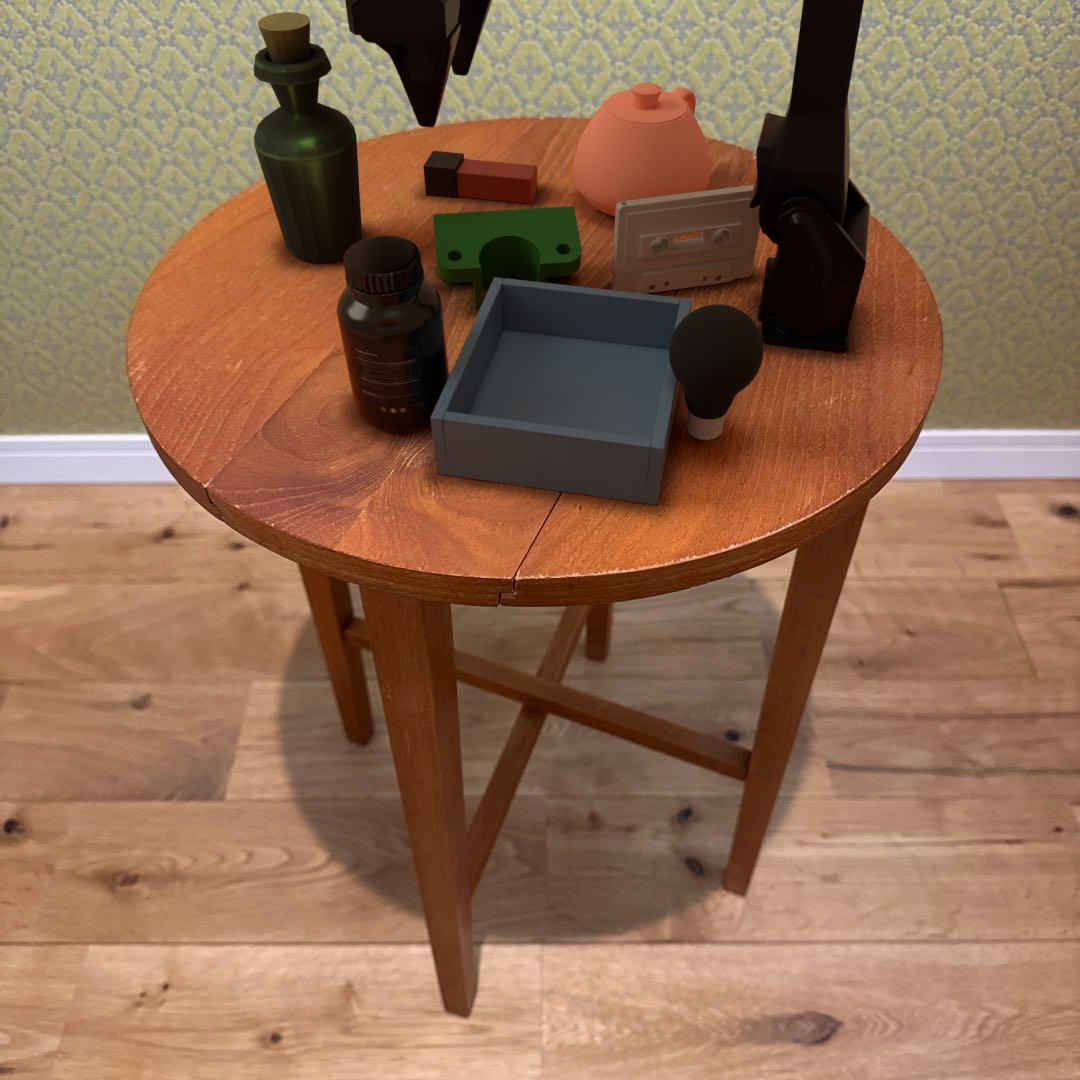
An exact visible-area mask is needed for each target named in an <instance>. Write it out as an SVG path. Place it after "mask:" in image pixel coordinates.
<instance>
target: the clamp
mask: <svg viewBox="0 0 1080 1080" xmlns="http://www.w3.org/2000/svg"><path fill="white" fill-rule="evenodd" d="M575 208H576V207H575V205H570V206H554V207H553V206H551V207H538V208H537V207H535V208H516V209H501V210H499V209H498V210H482V211H465V212H448V213H433V214H432V220H433V235H434V247H435V261H436V271H437V275H438V277H439V279H440V280H441V281H442V282H444V283H446V284H449V285H467V284H473V295H474V302H475V303H474V304H475V311H479V310H480V308H481V305H482V303H483V301H484V298H483V294H484V291H485V290H486V289H487V288H488V287H490V286H491V283H492V281H493V279H494V277H497V278H504V279H505V278H507V279H516V280H525V281H534V282H543V283H548V279H558V278H560V279H561V278H564V277H566V276H571V275H573V274H575V273H576V272H578V271H579V270H580V268H581V266H582V265H581V263H582V250H583V248H582V243H581V238H580V232H579V226H578V220H577V215H576V214H577V213H576V209H575Z"/></svg>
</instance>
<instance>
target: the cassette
mask: <svg viewBox="0 0 1080 1080" xmlns="http://www.w3.org/2000/svg"><path fill="white" fill-rule="evenodd" d="M754 185H755V184H748V185H741V186H734V187H725V188H717V189H709V190H705V191H700V192H692V193H684V194H676V195H668V196H660V197H652V198H644V199H636V200H628V201H620V202H618V203H617V205H616V213H615V216H614V233H613V248H612V249H613V252H612V267H611V268H612V269H611V286H610V287H611V288H610V290H614V291H623V292H632V293H641V294H653V293H660V292H666V291H667V292H668V291H674V290H682V289H691V288H698V287H703V286H711V285H717V284H724V283H731V282H733V280H737V279H746V278H750V277H751V276H752V274H753V270H754V264H755V258H756V251H757V247H758V242H759V234H760V230H761V227H760V225H759V209H760V205H759V206H757V207H755V208H750V206H749V205H750V201H751V197H752V193H753V189H754ZM695 233H700V236H699V237H697V238H690V239H681V240H674V238H675V236H677V235H686V234H695Z"/></svg>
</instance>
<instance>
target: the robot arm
mask: <svg viewBox="0 0 1080 1080" xmlns="http://www.w3.org/2000/svg"><path fill="white" fill-rule="evenodd" d="M344 3H345V10H346V16H347V24H348V31H349V32H350V33H351V34H353V35H354V36H359V37H360V38H362V40H363V41H365V42H367V43H369V44H375V45H376V46H378V47H379V48H381V50H383V51H384V52H385V53H387V55H388V56H389V58H390V59H391V62H392V64H393V66H394V68H395V70H396V72H397V74H398V77H399V79H400V82H401V84H402V86H403V89H404V92H405V94H406V96H407V99H408V102H409V104H410V106H411V109H412V111H413V114H414V116H415V119H416V121H417V123H418V125H419V127H422V128H434V127H435V126H436V124H437V121H438V117H439V114H440V110H441V106H442V102H443V99H444V95H445V90H446V86H447V82H448V79H449V75H450V70H451V69H452V73H453V75H455V76H464V77H465V76H467V75H469V72H470V69H471V67H472V63H473V61H474V57H475V54H476V50H477V48H478V45H479V43H480V38H481V36H482V33H483V29H484V26H485V24H486V21H487V17H488V14H489V11H490V9H491V5H492V3H493V0H344ZM864 3H865V0H802V6H801V15H800V23H799V24H800V25H799V30H798V38H797V44H796V45H797V47H796V53H795V61H794V70H793V77H792V85H791V92H790V99H789V102H788V105H787V107H786V111H785V113H784V115H778V114H776V113H770V112H766V113H765V115H764V119H763V123H762V127H761V130H760V134H759V138H758V142H757V146H756V151H755V153H756V155H755V157H756V176H755V181H754V184H753V185H754V189H753V193H752V197H751V201H750V205H749V206H750V208H755V207H757V206H759V205H760V209H759V225H760V230H761V232H762V234H764V235H765V236H766V237H767V238H768V239H769V240H770V241H771V243H773V244H775V246H776V245H777V246H776V250H775V256H769V257H768V258H766V261H765V265H764V272H763V278H762V283H761V289H760V293H759V299H758V306H757V307H758V308H757V316H756V320H757V321H758V322H759V323H761V331H760V334H761V337H762V342H763V343H767V344H776V345H785V346H791V347H792V346H794V347H801V348H810V349H816V350H817V349H818V350H827V351H836V352H847V351H848V350H849V347H850V326H851V323H852V319H853V315H854V311H855V307H856V304H857V300H858V296H859V292H860V289H861V285H862V281H863V278H864V274H865V270H866V266H867V255H868V243H869V242H868V241H869V240H868V239H869V238H868V237H869V227H870V226H869V224H870V212H871V205H870V203H869V201H868V200H867V199H866V198H865V197H864V195H863V193H862V192H861V191H860V189H859V188H858V187H857V185H856V184H855V183H854V181H852V179H851V178H850V169H851V165H850V157H851V156H850V154H851V153H850V152H851V151H850V114H849V92H850V85H851V79H852V74H853V69H854V68H853V67H854V64H855V63H854V62H855V55H856V50H857V45H858V39H859V38H858V37H859V33H860V27H861V21H862V16H863V9H864Z"/></svg>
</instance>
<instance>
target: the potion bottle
mask: <svg viewBox="0 0 1080 1080" xmlns="http://www.w3.org/2000/svg"><path fill="white" fill-rule="evenodd" d="M257 26H258V28H259V31H260V34H261V36H262V39H263V41H264V43H265V47H264V48H261V49H260V50H258V51H257V53H256V54H255V55H254V63H253V76H254V77H255V78H256V79H257V80H259V81H260V82H263V83H268V84H270V87H271V88H272V90H273V93H274V95H275V97H276V100H277V101H278V104H279V107H277V108H276V109H274V110H273V111H272V112H270V113H269V114H267V115H265V116H264V117H263V118H262V119H261V120H260V121H259V123H258V124H257V126H256V129H255V132H254V136H253V145H254V146H253V147H254V149H255V152H256V153H255V154H256V155H257V159H258V162H259V165H260V168H261V172H262V175H263V179H264V181H265V185H266V187H267V191H268V193H269V197H270V200H271V204H272V206H273V210H274V212H275V216H276V219H277V222H278V225H279V228H280V231H281V235H282V238H283V240H284V244H285V247H286V250H287V251H288V252H289V253H290V254H291V255H292V256H293V257H294V258H297V259H298V260H301V261H304V262H307V263H317V264H322V263H330V262H337V261H339V260H342V259H344V255H345V251H347V250H348V248H349V247H351V246H352V244H355V243H356V242H357V241H360V240H363V226H362V210H361V209H362V208H361V207H362V206H361V191H360V176H359V158H358V141H357V140H358V139H357V132H356V128H355V126H354V125H353V123H352V122H351V120H350V119H349V118H348V116H347V115H345V114H344V113H343V112H341V111H340V110H339V109H336V108H333V107H330V106H328V105H326V104H323V103H321V102H319V93H320V92H319V91H320V79H322V78H323V77H325V76H327V75H328V74H329V73H330V72H331V71H332V68H333V67H332V63H331V61H330V59H329V57H328V55H327V53H326V51H325V48H323V47H322V46H320V45H319V44H316V43H312V42H311V18H310V16H308V15H306V14H305V13H301V12H295V11H293V12H292V11H285V12H276V13H271V14H267V15H265V16H263V17H261V18H260V19H259V20H258V21H257Z"/></svg>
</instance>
